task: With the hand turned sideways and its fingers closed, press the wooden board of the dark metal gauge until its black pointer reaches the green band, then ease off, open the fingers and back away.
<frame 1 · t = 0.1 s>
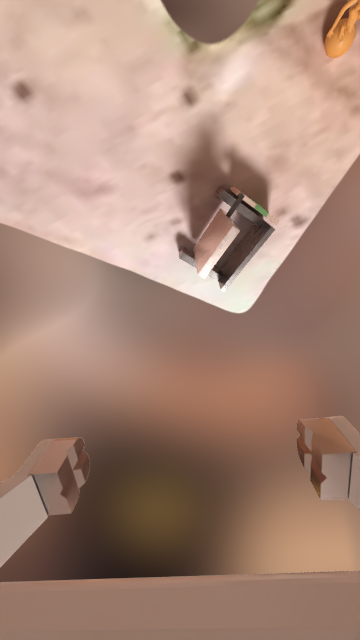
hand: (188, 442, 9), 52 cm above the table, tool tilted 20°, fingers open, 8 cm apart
figurine: (330, 35, 38), on the table
gauge housing: (219, 236, 56), on the table
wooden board: (219, 231, 47), point 9 cm above the table, slide at 0.0 cm
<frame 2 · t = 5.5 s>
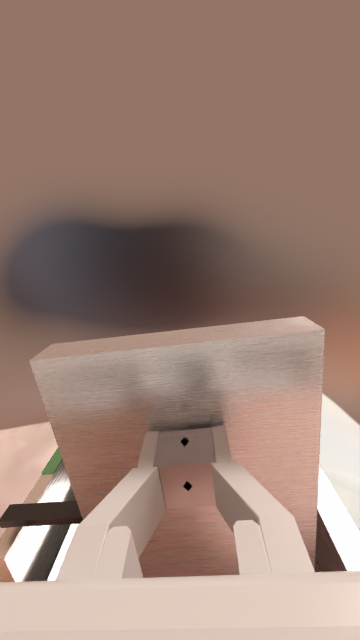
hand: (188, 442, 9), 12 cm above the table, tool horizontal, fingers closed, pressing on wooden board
gauge housing: (208, 550, 16), on the table
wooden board: (145, 486, 11), point 9 cm above the table, slide at 0.6 cm, touching gripper
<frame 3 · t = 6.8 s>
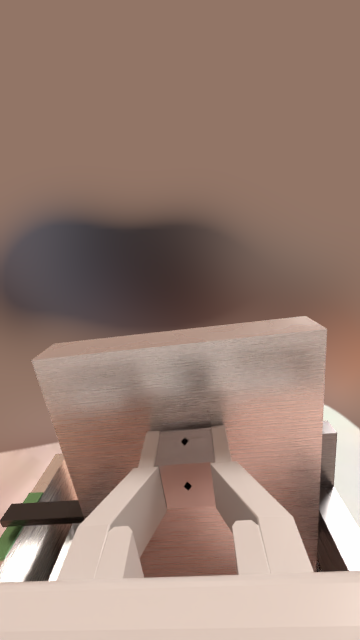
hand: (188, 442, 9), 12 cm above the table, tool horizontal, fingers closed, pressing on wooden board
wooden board: (146, 486, 11), point 9 cm above the table, slide at 4.9 cm, touching gripper
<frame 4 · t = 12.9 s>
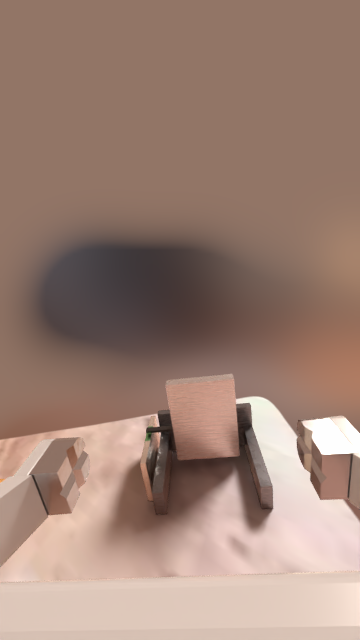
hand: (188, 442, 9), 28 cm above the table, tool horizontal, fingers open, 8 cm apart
gauge housing: (210, 472, 39), on the table
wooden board: (190, 420, 38), point 9 cm above the table, slide at 4.9 cm
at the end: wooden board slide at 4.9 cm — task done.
